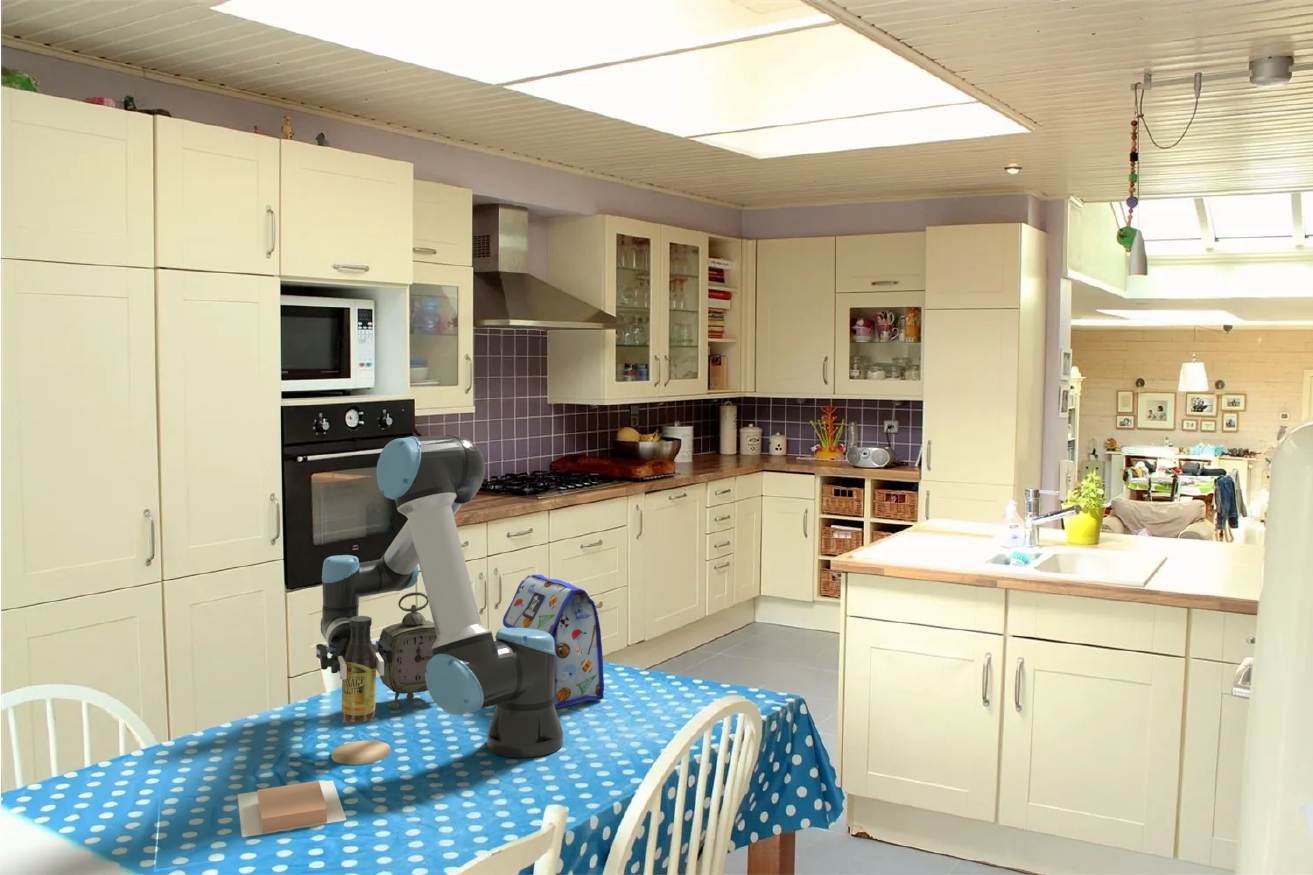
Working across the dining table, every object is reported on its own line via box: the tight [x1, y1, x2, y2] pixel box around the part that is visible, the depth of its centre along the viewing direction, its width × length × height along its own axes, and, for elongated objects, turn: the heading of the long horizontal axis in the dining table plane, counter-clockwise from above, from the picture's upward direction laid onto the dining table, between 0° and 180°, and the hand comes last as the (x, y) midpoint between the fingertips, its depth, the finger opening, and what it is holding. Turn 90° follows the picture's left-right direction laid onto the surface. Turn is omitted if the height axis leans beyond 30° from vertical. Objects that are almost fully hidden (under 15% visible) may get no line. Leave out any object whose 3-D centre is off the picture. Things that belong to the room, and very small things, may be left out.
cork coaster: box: [331, 740, 392, 766], centre depth 198 cm, size 11×11×1 cm
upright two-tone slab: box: [256, 780, 327, 833], centre depth 171 cm, size 2×10×12 cm
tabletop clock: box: [379, 591, 437, 710], centre depth 230 cm, size 14×9×25 cm, turn 123°
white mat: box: [237, 780, 347, 838], centre depth 174 cm, size 18×16×1 cm
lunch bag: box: [502, 574, 605, 709], centre depth 237 cm, size 23×17×27 cm
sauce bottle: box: [341, 615, 377, 724], centre depth 197 cm, size 6×6×20 cm
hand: (363, 670), depth 193 cm, fingers closed on sauce bottle, 6 cm apart
